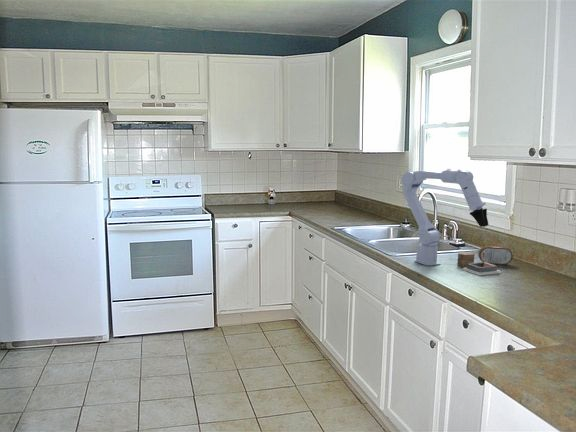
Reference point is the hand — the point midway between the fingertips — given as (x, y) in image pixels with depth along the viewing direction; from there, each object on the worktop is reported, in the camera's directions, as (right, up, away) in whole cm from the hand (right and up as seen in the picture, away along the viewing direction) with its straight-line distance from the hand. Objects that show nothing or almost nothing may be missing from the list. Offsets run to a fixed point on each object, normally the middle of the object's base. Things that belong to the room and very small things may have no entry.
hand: (484, 226), depth 230 cm
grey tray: (+1, -20, +8) cm, 22 cm away
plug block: (-3, -19, +17) cm, 25 cm away
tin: (+13, -18, +23) cm, 32 cm away
